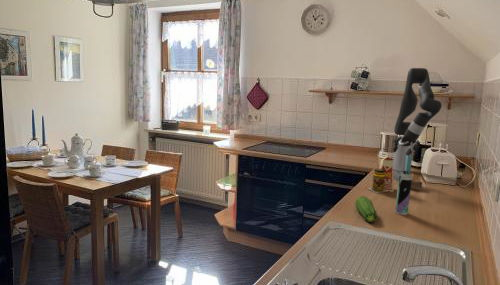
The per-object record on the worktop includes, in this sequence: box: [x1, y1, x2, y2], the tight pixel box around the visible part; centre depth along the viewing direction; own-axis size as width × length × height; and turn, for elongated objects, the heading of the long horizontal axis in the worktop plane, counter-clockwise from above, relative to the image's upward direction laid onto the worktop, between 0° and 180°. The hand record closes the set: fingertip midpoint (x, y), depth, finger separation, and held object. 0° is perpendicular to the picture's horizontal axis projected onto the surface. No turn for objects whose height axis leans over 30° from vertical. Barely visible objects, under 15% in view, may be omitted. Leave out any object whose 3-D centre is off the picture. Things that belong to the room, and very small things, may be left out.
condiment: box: [366, 168, 388, 194], centre depth 211 cm, size 7×8×12 cm
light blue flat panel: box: [399, 154, 413, 175], centre depth 232 cm, size 15×3×16 cm, turn 179°
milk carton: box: [378, 154, 394, 193], centre depth 214 cm, size 9×9×20 cm
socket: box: [411, 179, 423, 191], centre depth 219 cm, size 6×6×5 cm
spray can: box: [394, 171, 413, 216], centre depth 176 cm, size 6×6×20 cm
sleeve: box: [393, 170, 413, 182], centre depth 236 cm, size 11×6×5 cm, turn 179°
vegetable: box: [354, 195, 378, 223], centre depth 170 cm, size 7×7×20 cm
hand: (400, 153), depth 224 cm, fingers open, 8 cm apart
